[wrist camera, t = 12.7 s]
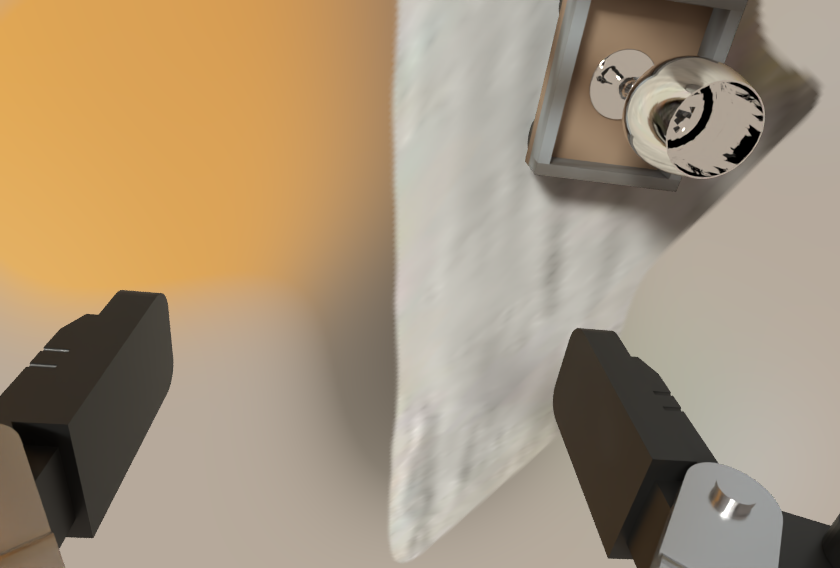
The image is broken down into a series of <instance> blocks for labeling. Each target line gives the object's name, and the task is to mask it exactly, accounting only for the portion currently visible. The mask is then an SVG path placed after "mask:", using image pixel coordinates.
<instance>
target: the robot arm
mask: <svg viewBox="0 0 840 568" xmlns="http://www.w3.org/2000/svg"><path fill="white" fill-rule="evenodd" d="M172 374H173V353H172V343H171V332H170V321H169V311H168V303H167V299H166V297H165V295H164V294H162V293H151V292H138V291H125V290H120V291H119V292H117V293H116V295H114V297H113V298H112V299H111V300H110V302H109V303H108V304H107V306H105V308H104V309H103V310H102V311H101V313H100V314H99V315H94V314H86V315H84V316H82V317H80V318H79V319H77V320H75V321H73V322H71V323H70V324H68V325H66V326H64V327H63V328H61V329H60V330H59V331H58V332H57V333H56V334H55V335H54V336H53V338H52V339H51V340H50V341H49V342H48V343H47V344H46V345H45V347H44V350H43V351H40V352H39V353H38V354H37V355H36V357H35V358H34V359H33V360H32V361H31V362H30V366H29V367H26V368H25V369H24V370H23V371H22V372H21V373H20V374H19V375H18V377H17V378H16V379H15V380H14V381H13V382H12V383H11V384H10V386H9V387H8V388H7V389H6V390H5V391H4V392H3V393H2V395H1V396H0V568H65V566H64V563H63V560H62V557H61V554H60V551H59V548H60V546H61V544H62V543H63V541H64V539H65V537H77V538H94V536H95V534H96V532H97V529H98V528H99V525H100V524H101V522H102V520H103V518H104V516H105V514H106V512H107V510H108V508H109V506H110V504H111V502H112V500H113V498H114V496H115V494H116V492H117V491H118V489H119V487H120V485H121V483H122V481H123V479H124V477H125V475H126V473H127V471H128V469H129V467H130V465H131V463H132V461H133V459H134V457H135V455H136V453H137V451H138V449H139V447H140V446H141V444H142V442H143V439H144V438H145V436H146V434H147V432H148V430H149V428H150V426H151V424H152V421H153V420H154V418H155V416H156V414H157V412H158V410H159V408H160V406H161V404H162V402H163V400H164V398H165V397H166V395H167V392H168V390H169V387H170V384H171V379H172ZM670 393H671V392H670V391H669V389H668V388H667V386H666V385H665V383H664V382H663V380H662V379H661V377H660V376H659V374H658V373H656V372H655V371H654V370H653V369H652V368H651V367H649V366H648V365H647V364H646V363H644V362H643V361H642V360H641V359H639V358H638V357H631V356H630V354H629V353H628V351H627V350H626V348H625V346H624V345H623V343H622V341H621V340H620V338H619V337H618V335H617V334H616V333H615V332H614V331H607V330H595V329H582V328H577V329H575V330H574V331H573V333H572V334H571V337H570V339H569V343H568V346H567V349H566V352H565V356H564V359H563V362H562V365H561V369H560V372H559V375H558V378H557V382H556V385H555V388H554V394H553V410H554V415H555V419H556V422H557V424H558V427H559V430H560V432H561V435H562V438H563V440H564V443H565V446H566V448H567V451H568V454H569V456H570V459H571V461H572V464H573V467H574V469H575V472H576V475H577V477H578V480H579V483H580V485H581V488H582V490H583V493H584V496H585V499H586V501H587V504H588V506H589V509H590V512H591V514H592V517H593V520H594V522H595V525H596V528H597V530H598V533H599V536H600V538H601V541H602V544H603V546H604V548H605V552H606V554H607V557H608V558H613V559H633V560H634V562H635V564H636V567H637V568H840V514H839V515H838V517H837V518H836V520H835V521H834V522H833V524H832V525H831V526H829V525H826V524H823V523H820V522H816V521H812V520H810V519H806V518H803V517H800V516H796V515H793V514H790V513H787V512H783V511H781V509H780V507H779V505H778V503H777V502H776V500H775V499H774V497H773V496H772V495H771V494H770V493H769V492H768V491H767V490H766V489H765V488H764V487H763V486H762V485H761V484H760V483H758V482H757V481H756V480H754V479H753V478H751V477H749V476H748V475H747V474H745V473H743V472H741V471H739V470H737V469H734V468H732V467H729V466H726V465H723V464H718V462H717V461H716V459H715V458H714V456H713V455H712V453H711V452H710V450H709V449H708V447H707V446H706V444H705V443H704V441H703V440H702V438H701V437H700V435H699V434H698V432H697V431H696V429H695V428H694V426H693V425H692V423H691V422H690V420H689V419H688V417H687V416H686V414H685V413H684V412H681V407H680V405H679V404H678V402H677V401H676V400H675V398H674V397H673V396H671V395H670Z"/></svg>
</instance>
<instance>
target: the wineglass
mask: <svg viewBox="0 0 840 568" xmlns="http://www.w3.org/2000/svg"><path fill="white" fill-rule="evenodd" d="M589 97H590V101H591V103H592V106H593V107H594V109H595V110H596V111H597V112H598V113H599V114H600V115H602V116H604V117H605V118H609V119H613V120H621V119H622V126H623V131H624V135H625V137H626V139H627V141H628V143H629V145H630V147H631V148H632V149H633V151H634V152H635V153H636V154H637V155H638V156H639V157H640V158H641V159H642V160H644V161H645V162H647V163H648V164H650V165H651V166H653V167H655V168H657V169H659V170H662V171H665V172H668V173H671V174H674V175H679V176H685V177H691V178H697V179H708V178H714V177H717V176H720V175H723V174H725V173H727V172H729V171H731V170H733V169H735V168H736V167H737V166H738V165H740V164H741V163H742V162H743V161H744V160H745V159H746V158H747V157H748V156H749V155H750V154H751V153H752V151H753V150H754V148H755V147H756V145H757V144H758V142H759V139H760V137H761V134H762V132H763V128H764V122H765V110H764V106H763V103H762V100H761V98H760V96H759V95H758V94H757V92H756V91H755V90H754V88H753V87H752V86H751V85H750V84H749V83H748V82H747V81H746V80H745V79H744V78H743V77H742V76H741V75H740V74H739V73H737V72H736V71H734V70H733V69H731V68H730V67H729V66H727V65H725V64H723V63H721V62H719V61H717V60H714V59H711V58H708V57H704V56H697V55H685V56H676V57H672V58H669V59H666V60H663V61H661V62H659V63H657V64H654V62H653V61H652V59H651V58H650V57H649V56H648V55H647V54H645V53H644V52H642V51H640V50H636V49H622V50H618V51H615V52H613V53H611V54H609V55H608V56H607V57H606V58H604V59H603V60H602V61H601V62H600V63H599V65H598V66H597V67H596V69H595V71H594V72H593V74H592V77H591V80H590V85H589Z"/></svg>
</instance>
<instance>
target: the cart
mask: <svg viewBox="0 0 840 568" xmlns="http://www.w3.org/2000/svg"><path fill="white" fill-rule="evenodd" d="M747 1H748V0H560V3H559V18H558V22H557V27H556V31H555V35H554V39H553V44H552V48H551V52H550V57H549V61H548V65H547V69H546V74H545V78H544V82H543V86H542V91H541V95H540V99H539V104H538V108H537V112H536V116H535V120H534V121H533V123H532V125H531V128H530V132H529V136H528V151H527V155H526V159H525V162H526V163H527V164H528V166H529V167H530V169H531V170H532V171H533V173H534V174H535V175H543V176H551V177H559V178H567V179H576V180H584V181H592V182H600V183H609V184H617V185H625V186H633V187H642V188H650V189H658V190H666V191H674V192H676V191H677V188H678V185H679V183H680V180H681V177H682V176H679V175H674V174H671V173H668V172H665V171H662V170H659V169H657V168H655V167H653V166H651V165H650V164H648V163H647V162H645V161H644V160H642V159H641V158H640V157H639V156H638V155H637V154H636V153H635V152H634V151H633V149H632V148H631V147H630V145H629V143H628V141H627V139H626V137H625V135H624V131H623V126H622V119H621V120H613V119H609V118H605V117H604V116H602V115H600V114H599V113H598V112H597V111H596V110H595V109H594V107H593V106H592V103H591V101H590V97H589V85H590V80H591V77H592V74H593V72H594V71H595V69H596V67H597V66H598V65H599V63H600V62H601V61H602V60H603V59H604V58H606V57H607V56H608V55H609V54H611V53H613V52H615V51H618V50H622V49H636V50H640V51H642V52H644V53H645V54H647V55H648V56H649V57H650V58H651V59H652V61H653V62H654V64H657V63H659V62H661V61H663V60H666V59H669V58H672V57H676V56H685V55H697V56H704V57H708V58H711V59H714V60H717V61H719V62H721V63H723V64H724V63H725V60H726V57H727V54H728V52H729V49H730V46H731V44H732V41H733V38H734V36H735V33H736V30H737V28H738V25H739V22H740V20H741V17H742V14H743V12H744V9H745V6H746V4H747Z"/></svg>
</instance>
